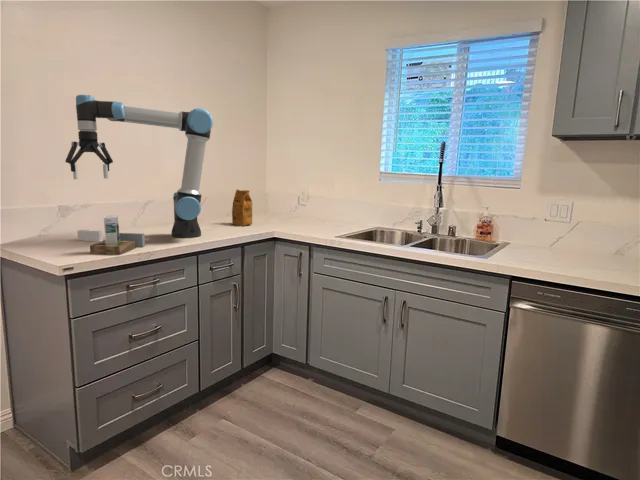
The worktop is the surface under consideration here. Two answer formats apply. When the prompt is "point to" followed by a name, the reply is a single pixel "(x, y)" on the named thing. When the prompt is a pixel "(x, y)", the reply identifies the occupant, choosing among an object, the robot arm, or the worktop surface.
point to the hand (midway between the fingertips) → (91, 178)
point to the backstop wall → (133, 238)
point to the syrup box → (112, 230)
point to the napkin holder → (89, 235)
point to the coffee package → (242, 208)
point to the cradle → (112, 248)
